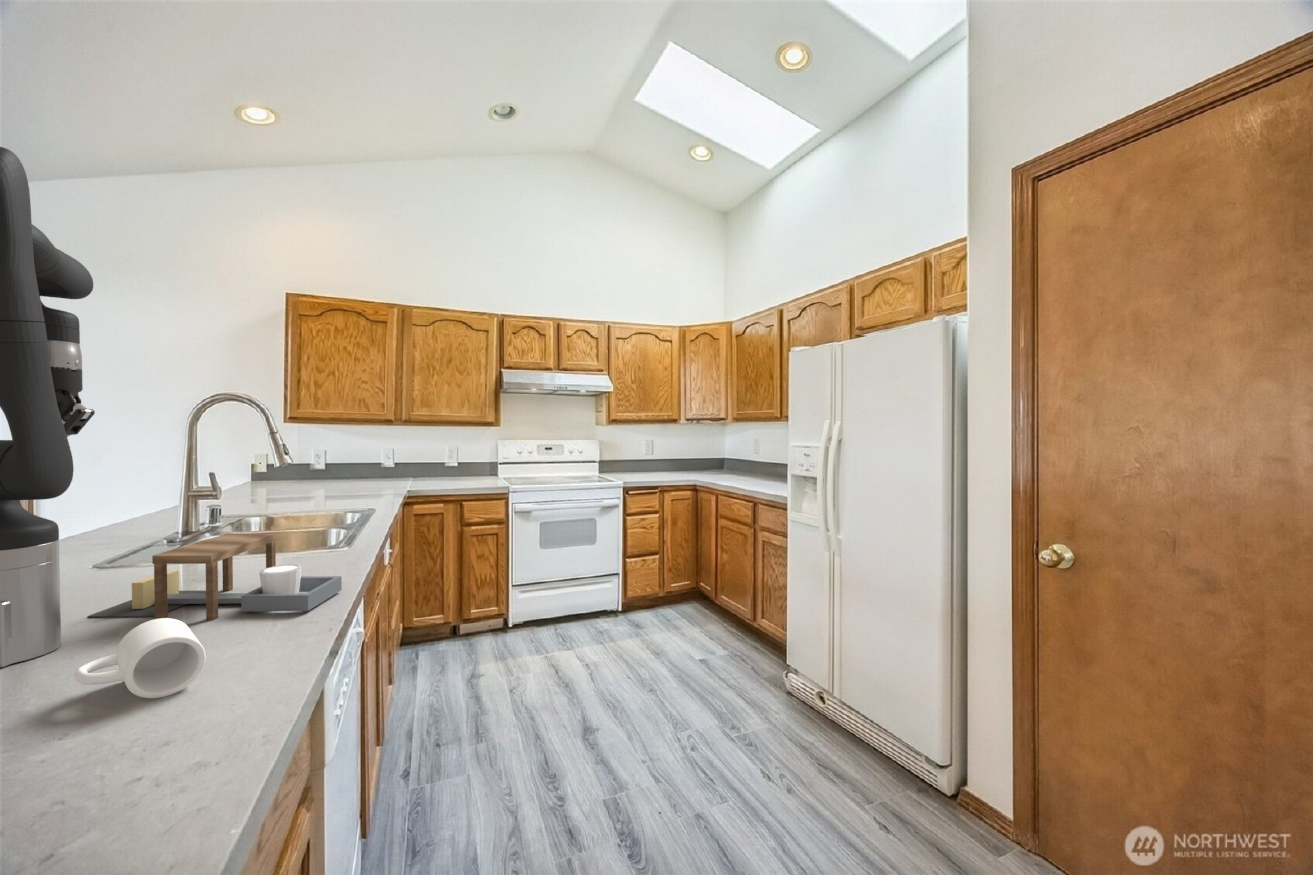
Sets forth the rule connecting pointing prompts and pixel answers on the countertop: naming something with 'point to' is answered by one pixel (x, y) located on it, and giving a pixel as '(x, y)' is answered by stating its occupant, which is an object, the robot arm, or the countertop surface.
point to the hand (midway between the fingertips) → (54, 457)
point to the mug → (151, 660)
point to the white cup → (281, 579)
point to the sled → (243, 594)
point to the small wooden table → (208, 565)
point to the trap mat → (127, 610)
